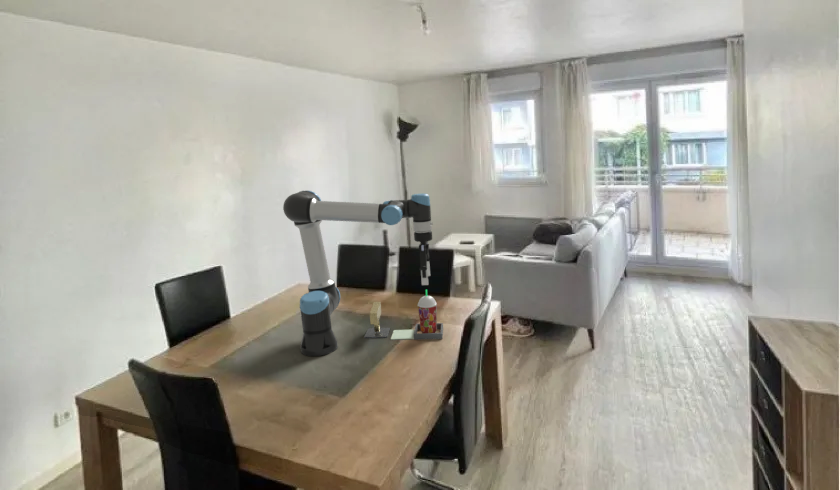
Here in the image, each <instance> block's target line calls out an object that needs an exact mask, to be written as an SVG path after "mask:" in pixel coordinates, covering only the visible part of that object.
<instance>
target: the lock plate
mask: <svg viewBox="0 0 840 490" xmlns="http://www.w3.org/2000/svg"><path fill="white" fill-rule="evenodd" d="M390 330H391V327H380V331H379V332H375V331H374V327H371V328H367V330H366V333H365V335H364V337H363V339H383V338H384V339H385V338H386V339H387V338H388V336H389V333H390Z"/></svg>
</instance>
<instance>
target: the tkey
mask: <svg viewBox="0 0 840 490" xmlns="http://www.w3.org/2000/svg"><path fill="white" fill-rule="evenodd" d="M381 315H382V304H381V301H373V303H372V307H371V308H370V311H369V321H370V325H373V328H374V331H375V332H379V331H380V328H381V326H380V319H381Z"/></svg>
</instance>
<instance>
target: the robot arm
mask: <svg viewBox="0 0 840 490" xmlns="http://www.w3.org/2000/svg"><path fill="white" fill-rule="evenodd" d="M282 208H283V209H282V210H283V213H284V216H286V217H287V218H288V219H289V220H290V221H292V222H293V224H294V226H295V227H296V228H298V229H299V235H300V239H301V244H302V248H303V254H304V258H305V263H306V269H307V272H308V278H309V284H308V286H307V290H308V292H307V293H305V294H303V295H302V296H301V297H300V298H299V310H300V318H301V326H302V327H301V328H302V337H301V342H300V353H301V354H303V355H304V356H308V357H319V356H325V355H328V354H330V353H333V352H335V351H336V350H337V349H338V347H339V346H338V344H339V343H338V339H337V337H336V335H335V333H334V331H333V328H332V319H331V317H332V316H331V315H332V314H333V313H334V312H335V310H336V309H337V308H338V306H339V304H340V301H341V292H340V290H339V288H338V287H337V286H336V282H335V281H334V280H333V279H332V278H331V276H330V271H329V266H328V261H327V260H328V259H327V256H326V251H325V246H324V241H323V234H322V231H321V226H320V225H321V223H322V222H323V221H333V222H338V221H339V222H355V223H356V222H358V223H373V224H374V223H378V224H385V225H387V226H394V225H397V224H398V223H400V221H402V220H403V219H408V218H412V225H413V226H412V227H413V231H414V232H413V240H414V241H415V242H419V243H420V244H418V249H419V251H418V252H419V266H420V267H418V270H419V271H420V276H421V281H420V282H421V286H429V277H431V266H430V261H432V258H431V257H430V246H429V245H430V244H429V242H430V241H432V240H433V231H432V225H434V224H433V222H432V210H431V199H430V195H429V194H428V193H414V194H412V195H411V196H410V198H409V199H395V200H392V199H391V200H390V199H389V200H385V201H384V202H382V203H374V202H373V203H371V202H369V203H368V202H351V201H350V202H349V201H347V202H346V201H327V200H322V198H321V197H320V196H319V194H317V193H316V192H315V191H312V190H301V191H299V192H295V193H292V194H290V195H289V196H287V197H286V198H285V200H284V202H283V206H282Z"/></svg>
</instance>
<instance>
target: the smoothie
mask: <svg viewBox="0 0 840 490" xmlns="http://www.w3.org/2000/svg"><path fill="white" fill-rule="evenodd" d="M437 305H438V303H437V301H436V300H435V298H434V297H433V296H431V295H428V289H425V295H423V296H422V297H420V299H419V300H418V303H417V311H418V317H419V324H420V327H421V330H420V333H437V330H438V329H437V323H438V322H437V319H438V318H437V315H438V311H437V310H438V308H437V307H438V306H437Z"/></svg>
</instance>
